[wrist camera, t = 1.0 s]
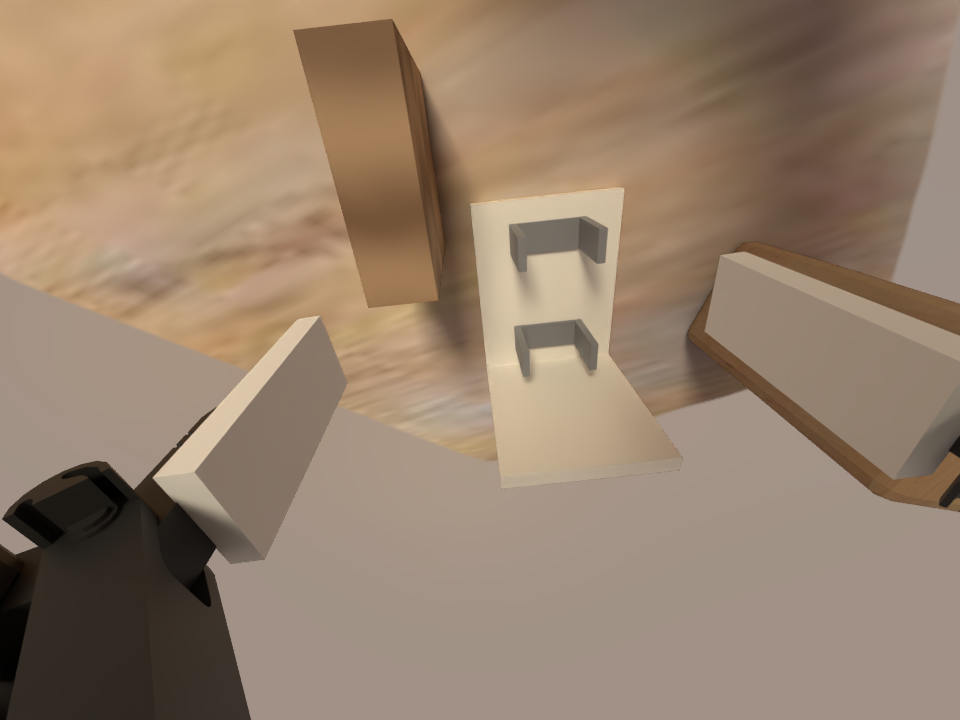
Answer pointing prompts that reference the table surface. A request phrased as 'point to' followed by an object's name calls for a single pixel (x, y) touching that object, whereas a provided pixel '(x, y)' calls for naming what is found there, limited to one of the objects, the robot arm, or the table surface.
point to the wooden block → (879, 483)
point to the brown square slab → (378, 156)
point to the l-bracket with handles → (559, 342)
